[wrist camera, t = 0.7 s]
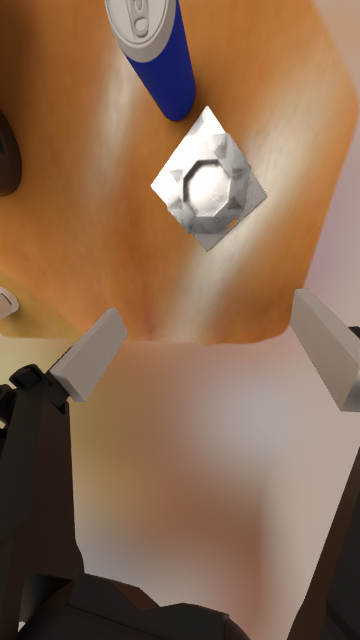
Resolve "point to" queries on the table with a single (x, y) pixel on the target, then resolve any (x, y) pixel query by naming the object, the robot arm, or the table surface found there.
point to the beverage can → (156, 50)
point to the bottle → (7, 303)
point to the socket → (208, 182)
